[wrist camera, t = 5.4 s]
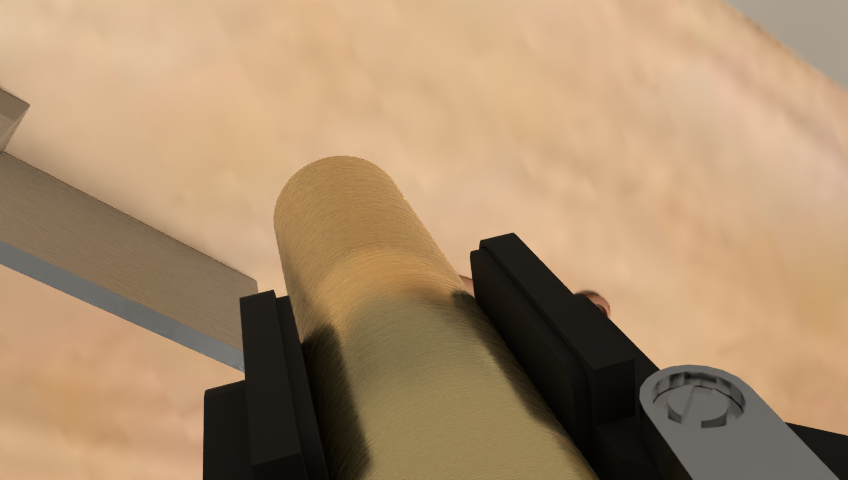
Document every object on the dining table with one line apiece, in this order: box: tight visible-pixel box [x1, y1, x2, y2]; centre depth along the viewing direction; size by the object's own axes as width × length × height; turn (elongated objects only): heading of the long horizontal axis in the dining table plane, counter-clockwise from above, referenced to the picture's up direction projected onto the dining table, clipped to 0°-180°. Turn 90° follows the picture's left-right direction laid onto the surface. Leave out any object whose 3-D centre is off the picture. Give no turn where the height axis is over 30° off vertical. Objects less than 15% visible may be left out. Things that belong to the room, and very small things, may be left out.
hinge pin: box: [274, 156, 600, 480], centre depth 11 cm, size 4×4×14 cm
